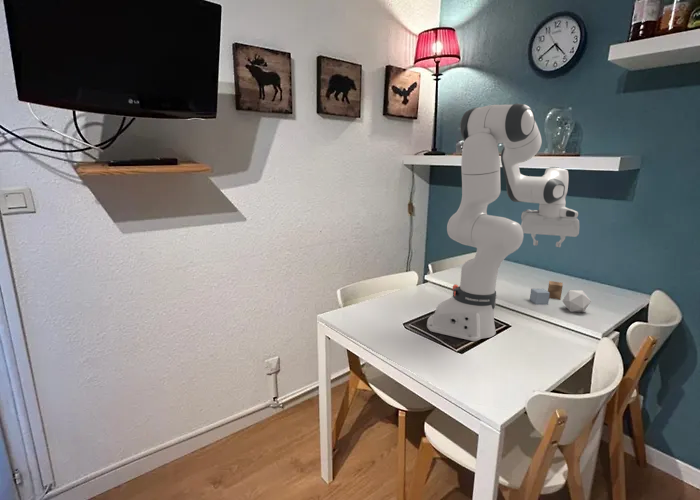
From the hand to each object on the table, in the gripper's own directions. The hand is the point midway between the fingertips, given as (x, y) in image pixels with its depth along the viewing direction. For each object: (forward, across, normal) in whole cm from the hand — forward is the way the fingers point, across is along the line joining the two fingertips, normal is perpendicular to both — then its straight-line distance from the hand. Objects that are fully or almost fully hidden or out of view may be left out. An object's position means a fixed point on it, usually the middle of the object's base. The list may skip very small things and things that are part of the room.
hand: (546, 246), depth 153 cm
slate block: (+23, 0, 0) cm, 23 cm away
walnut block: (+23, +7, +9) cm, 26 cm away
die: (+24, +12, -5) cm, 27 cm away
